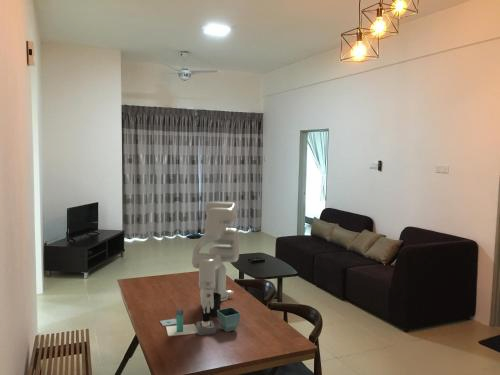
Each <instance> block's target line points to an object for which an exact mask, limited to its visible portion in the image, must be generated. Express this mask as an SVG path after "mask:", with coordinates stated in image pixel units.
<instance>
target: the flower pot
mask: <svg viewBox="0 0 500 375" xmlns="http://www.w3.org/2000/svg"><path fill="white" fill-rule="evenodd" d="M241 314H242V313H241V312H240V311H238V310H237V309H236V308H234V307H232V306H231V307H227V308H220V310H217V316H216V317H217V321H218V324H219V327H220V328H221V329H222V330H223V331H224V332H225V333H228V332H232V331H235V330H236V329H237V328H238V326H239V324H240V319H241Z"/></svg>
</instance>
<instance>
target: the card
mask: <svg viewBox="0 0 500 375" xmlns="http://www.w3.org/2000/svg"><path fill="white" fill-rule="evenodd" d="M159 322H160V324H161V325H162V327H167V326H175V325H176V318H171V319H164V320H159Z"/></svg>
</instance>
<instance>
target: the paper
mask: <svg viewBox="0 0 500 375" xmlns="http://www.w3.org/2000/svg"><path fill="white" fill-rule="evenodd" d="M165 328H166V329H165V330H166V332H167V336H168V337H173V336H174V337H175V336H182V335H185V336H186V335H193V334H198V331H197V329H196V323H192V324H190V323H189V324H183V331H182V332H177V326H176V325H168V326H165Z"/></svg>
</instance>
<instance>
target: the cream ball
mask: <svg viewBox="0 0 500 375" xmlns="http://www.w3.org/2000/svg"><path fill="white" fill-rule="evenodd" d="M201 321H202V327H209V326H210V321H211V320H210V321H206V322H203V320H201Z"/></svg>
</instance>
